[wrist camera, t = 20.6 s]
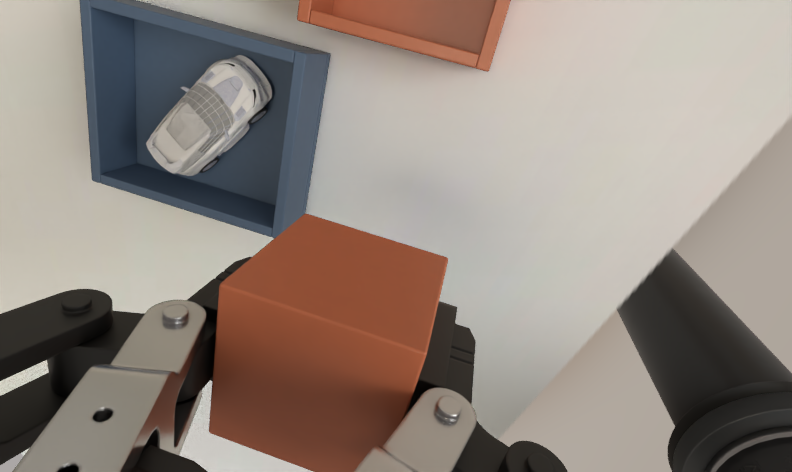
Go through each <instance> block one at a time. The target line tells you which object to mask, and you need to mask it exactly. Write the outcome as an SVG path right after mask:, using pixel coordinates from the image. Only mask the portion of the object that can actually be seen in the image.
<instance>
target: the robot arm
mask: <svg viewBox="0 0 792 472" xmlns="http://www.w3.org/2000/svg"><path fill="white" fill-rule="evenodd" d="M251 258H252V257H248V258H245V259H242V260H239V261H236V262H234V263H233V264H232V265H231V266H229V267H228V268H227V269H225V271H224V272H222V273H220V274H219V275H218V276H217V277H216V279H213V280H212V281H210V282H209V283H208V284H207V285H205V286H204V287H203V288H202V289H200V290H199V291H198V292H197V293H195V294H194V295H193V296H191V297H190V298H189V299H188V300H170V301H165V302H161V303H159V304H156V305H154V306H153V307H151V308H150V309H149V310H148V311H147V312H146V313H145V314H140V313H130V312H119V311H113V308H112V299H111V298H110V296H109V295H107V294H106V293H104V292H101V291H98V290H92V289H77V290H70V291H66V292H62V293H59V294H56V295H53V296H51V297H48V298H45V299H42V300H39V301H36V302H34V303H31V304H28V305H25V306H22V307H19V308H16V309H14V310H11V311H8V312H5V313H2V314H0V381H1V380H3V379H6V378H8V377H10V376H12V375H14V374H16V373H19V372H21V371H23V370H25V369H27V368H30V367H32V366H34V365H36V364H38V363H40V362H43V361H45V360H47V362H48V369H49V373H47V374H45V375H43V376H41V377H39V378H37V379H35V380H33V381H31V382H29V383H26V384H24V385H22V386H20V387H18V388H16V389H14V390H12V391H10V392H8V393H6V394H4V395H2V396H0V465H1V464H3V463H5V462H6V461H8V460H9V459H11V458H13V457H15V456H16V455H18V454H20V453H21V452H23V451H25V450H26V449H28V448H30V449H29V450H28V451H27V453H26V454H25V455H24V457H23V458H22V459H21V461H20V462H19V464H18V465H17V466H16V468H15V469H14V470H13V472H207V471H206V470H205V469H203V468H202V467H201V466H200V465H198V464H197V463H196V462H194V461H192V460H189V459H187V458H184V457H181V456H179V454H180V452H181V449H182V446H183V444H184V441H185V439H186V436H187V434H188V431H189V429H190V426H191V423H192V421H193V418H194V416H195V413H196V411H197V408H198V406H199V403H200V400H201V397H202V388H203V387H204V386H205V385H206V384H207V383H208V382H209V380H211V381H213V368H214V354H215V340H216V326H217V312H218V298H219V286H220V284H221V283H222V282H223V281H224V280H225V279H226V278H228V277H229V276H230V275H231V274H232V273H234V272H235V271H236V270H237V269H239V268H240V267H241V266H242V265H243V264H245V263H246V262H247V261H248V260H249V259H251ZM456 312H457V307H455V306H452V305H449V304H446V303H443V302H440V301H439V303H438V307H437V311H436V316H435V320H434V325H433V329H432V334H431V338H430V342H429V347H428V351H427V355H426V358H425V361H424V364H423V367H422V370H421V373H420V376H419V379H418V382H417V384H416V387H415V390H414V393H413V396H412V399H411V402H410V405H409V408H408V411H407V414H406V416H405V418H404V419H403V420H402V422H401V423H400V424H399V426H398V427H397V428H396V429H395V431H394V432H393V433H392V435H391V436H390V437H389V439H388V440H387V441H386V443H385V444H384V445H383V446H382V447H381V446H379V445H376V446H374V447H373V448H372V449H371V450H370V452H369V453H368V454H367V455H366V457H365V458H364V459H363V460H362V462H361V463H360V464H359V465H358V467H357V468H356V469H355V471H354V472H567V470H566V468H565V466H564V465H563V463H562V462H561V461H560V460H559V459H558V457H556V456H555V455H554V454H553V453H552V452H551V451H549V450H548V449H547V448H545V447H543V446H541V445H539V444H537V443H534V442H530V441H519V442H516V443H514V444H513V445H511V446H510V447H508V446H506V445H505V444H503V443H502V442H500V441H499V440H497V439H496V438H494V437H493V436H491V435H490V434H489V433H488V432H486V431H485V430H484V429H483V428H482V427H481V425H480V424H479V423H478V421H477V418H476V413H475V410H474V408H473V407H472V405H471V402H472V387H473V371H474V366H473V365H474V354H475V339H474V337H473V335H472V333H471V331H470V329H469V328H467V327H463V326H460V325H457V324H455V318H456ZM705 472H792V426H788V427H778V428H772V429H766V430H762V431H758V432H755V433H752V434H749V435H747V436H744V437H742V438H740V439H738V440H736V441H734V442H732V443H730V444H729V445H727V446H726V447H725V448H723V449H722V450H721V451H720V452H718V453H717V454H716V455H715V456H714V458H713V459H712V460H711V461H710V463H709V464H708V466H707V468H706V470H705Z"/></svg>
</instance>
